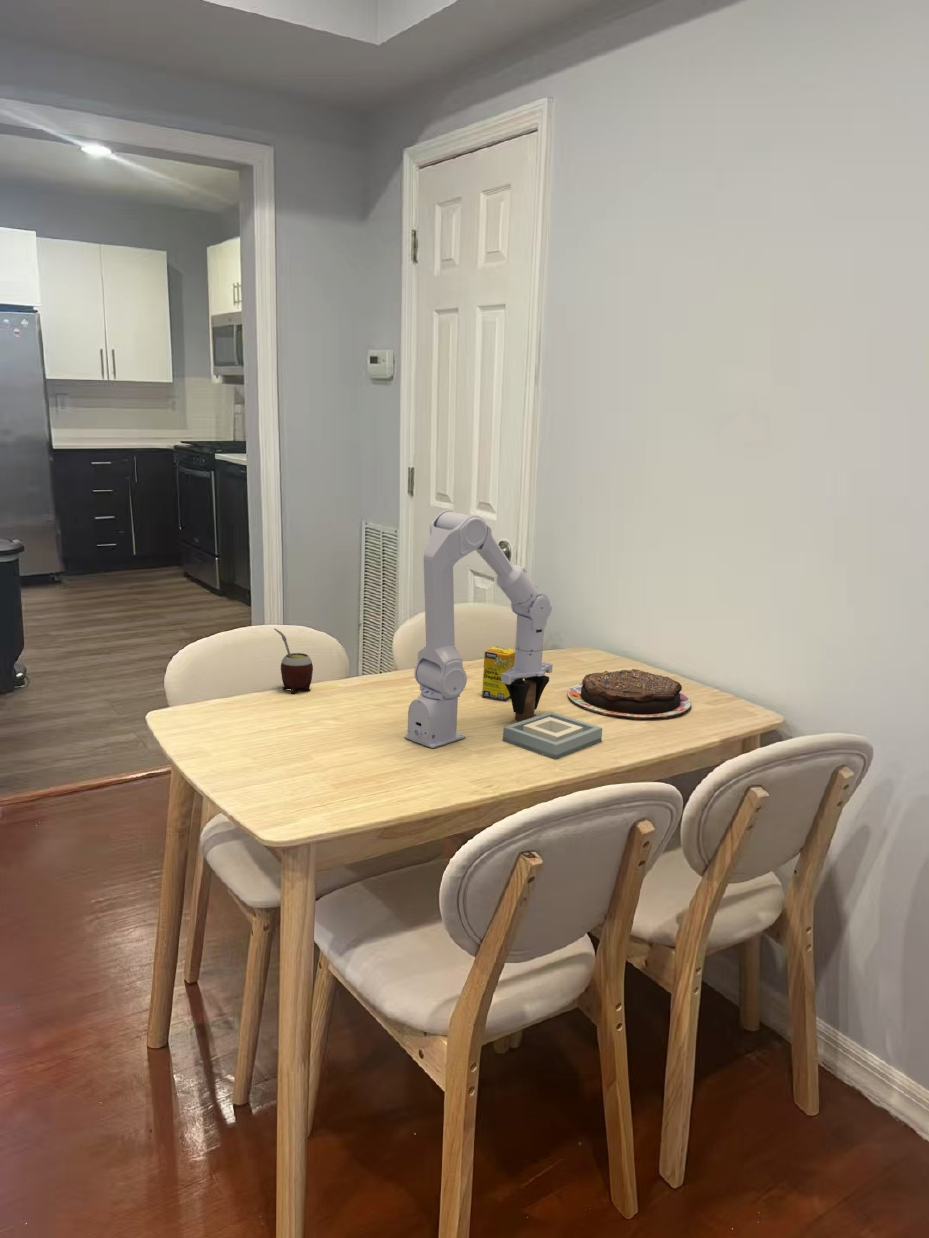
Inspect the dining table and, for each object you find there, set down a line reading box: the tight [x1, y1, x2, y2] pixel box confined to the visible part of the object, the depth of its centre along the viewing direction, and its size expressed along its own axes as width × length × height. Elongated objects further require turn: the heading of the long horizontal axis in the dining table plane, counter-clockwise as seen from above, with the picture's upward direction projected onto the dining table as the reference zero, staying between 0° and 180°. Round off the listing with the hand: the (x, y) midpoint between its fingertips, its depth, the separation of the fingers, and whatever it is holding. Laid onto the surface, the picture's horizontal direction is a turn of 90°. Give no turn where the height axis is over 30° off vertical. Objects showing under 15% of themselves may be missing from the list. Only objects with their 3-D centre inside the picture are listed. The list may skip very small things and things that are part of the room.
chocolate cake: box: [566, 668, 692, 721], centre depth 207 cm, size 28×28×7 cm
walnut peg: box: [514, 679, 536, 722], centre depth 190 cm, size 4×4×8 cm
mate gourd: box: [273, 627, 314, 695], centre depth 202 cm, size 8×8×15 cm
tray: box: [502, 711, 603, 760], centre depth 179 cm, size 15×13×3 cm
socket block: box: [523, 717, 583, 742], centre depth 179 cm, size 8×8×2 cm
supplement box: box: [481, 645, 515, 703], centre depth 205 cm, size 6×6×11 cm
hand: (525, 710), depth 191 cm, fingers closed on walnut peg, 4 cm apart
